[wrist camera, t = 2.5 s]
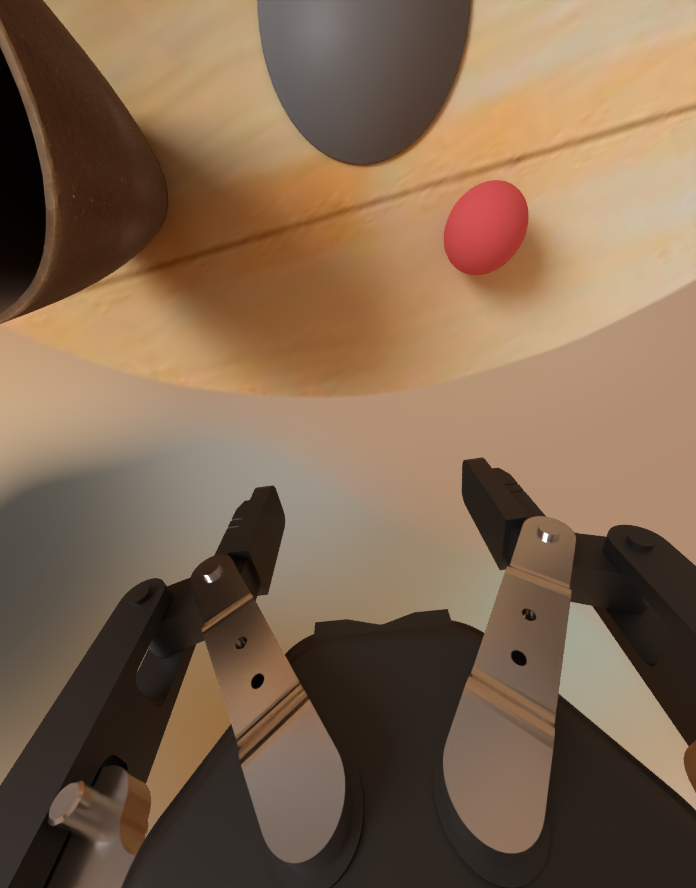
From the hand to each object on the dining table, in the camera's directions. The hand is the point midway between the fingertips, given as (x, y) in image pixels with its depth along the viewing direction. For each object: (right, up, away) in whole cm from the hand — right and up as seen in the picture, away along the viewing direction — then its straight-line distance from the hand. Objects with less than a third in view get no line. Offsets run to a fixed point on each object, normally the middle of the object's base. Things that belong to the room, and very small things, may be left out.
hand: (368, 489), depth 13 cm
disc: (0, +28, +6) cm, 29 cm away
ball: (+9, +18, +9) cm, 22 cm away
